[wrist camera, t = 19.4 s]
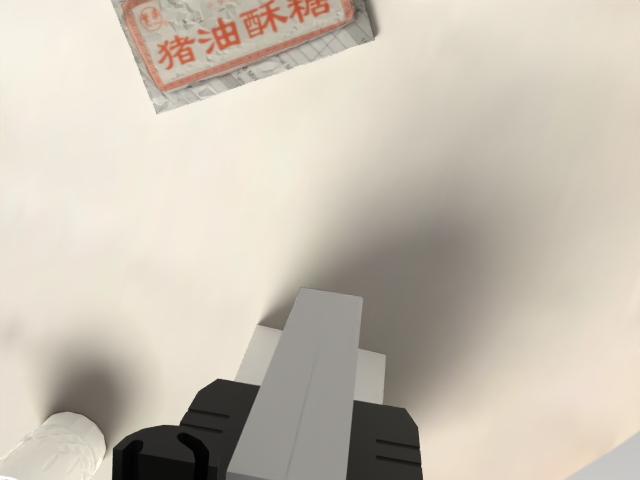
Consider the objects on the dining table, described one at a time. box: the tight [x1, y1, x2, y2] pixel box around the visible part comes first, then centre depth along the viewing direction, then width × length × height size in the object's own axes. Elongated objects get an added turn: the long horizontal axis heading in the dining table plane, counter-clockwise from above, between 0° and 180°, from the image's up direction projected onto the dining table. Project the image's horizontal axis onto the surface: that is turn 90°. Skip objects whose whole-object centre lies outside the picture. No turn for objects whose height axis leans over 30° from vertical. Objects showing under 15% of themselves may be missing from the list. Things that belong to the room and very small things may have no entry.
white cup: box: [0, 412, 106, 480], centre depth 50 cm, size 8×8×10 cm
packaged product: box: [111, 0, 375, 114], centre depth 41 cm, size 18×5×10 cm
